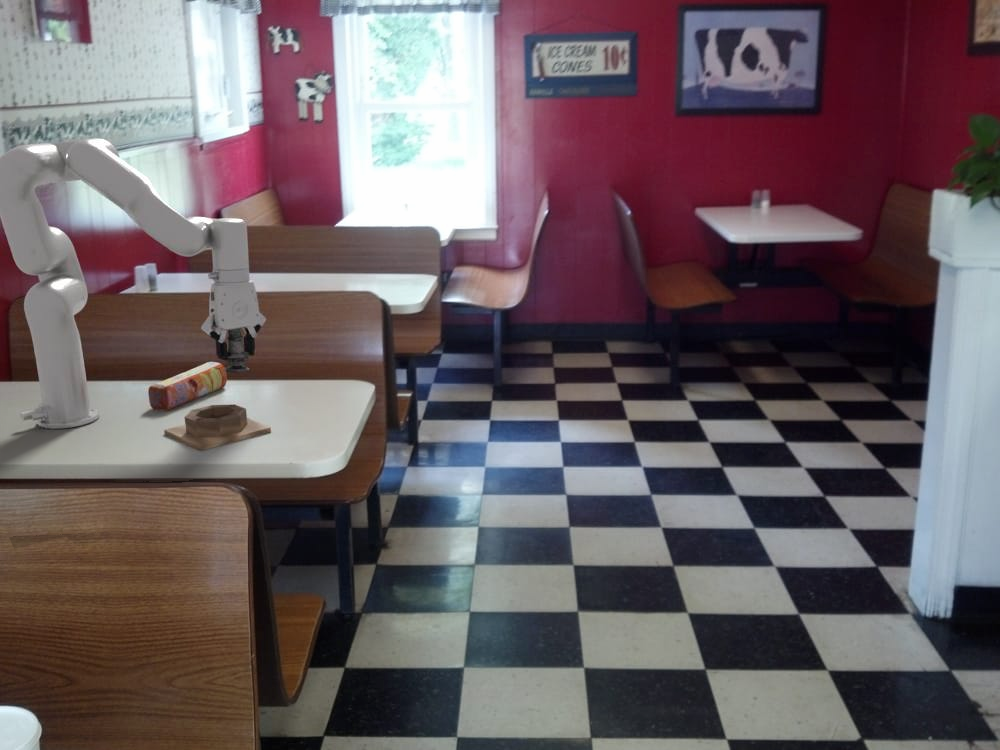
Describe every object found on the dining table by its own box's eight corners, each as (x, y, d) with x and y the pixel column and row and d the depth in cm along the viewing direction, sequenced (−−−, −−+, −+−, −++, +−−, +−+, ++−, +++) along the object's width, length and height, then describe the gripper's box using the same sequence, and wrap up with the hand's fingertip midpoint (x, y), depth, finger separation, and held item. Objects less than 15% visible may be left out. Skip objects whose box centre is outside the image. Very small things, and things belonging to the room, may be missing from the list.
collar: (201, 450, 203) (198, 429, 202) (164, 434, 214) (162, 413, 213) (271, 431, 214) (269, 411, 213) (232, 417, 225) (230, 397, 224)
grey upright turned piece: (254, 366, 228) (251, 314, 225) (245, 373, 223) (242, 319, 220) (228, 366, 229) (225, 313, 226) (219, 372, 223) (216, 319, 220)
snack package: (169, 413, 231) (166, 384, 229) (147, 410, 233) (143, 382, 231) (229, 388, 249) (226, 361, 247) (208, 386, 252) (205, 359, 250)
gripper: (203, 282, 212) (208, 366, 217) (275, 274, 224) (279, 353, 228) (186, 278, 217) (192, 359, 222) (257, 270, 229) (261, 348, 233)
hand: (236, 356), depth 225 cm, fingers closed on grey upright turned piece, 5 cm apart
